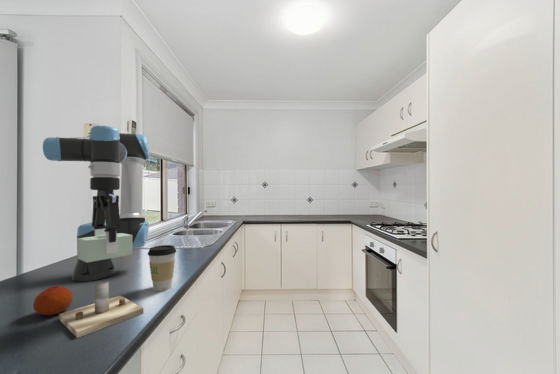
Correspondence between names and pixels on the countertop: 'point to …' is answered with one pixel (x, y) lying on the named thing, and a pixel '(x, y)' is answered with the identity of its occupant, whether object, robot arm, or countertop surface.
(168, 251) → the coffee cup
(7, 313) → the countertop surface
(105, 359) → the countertop surface
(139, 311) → the post base
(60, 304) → the fruit
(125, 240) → the green block with window
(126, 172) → the robot arm
